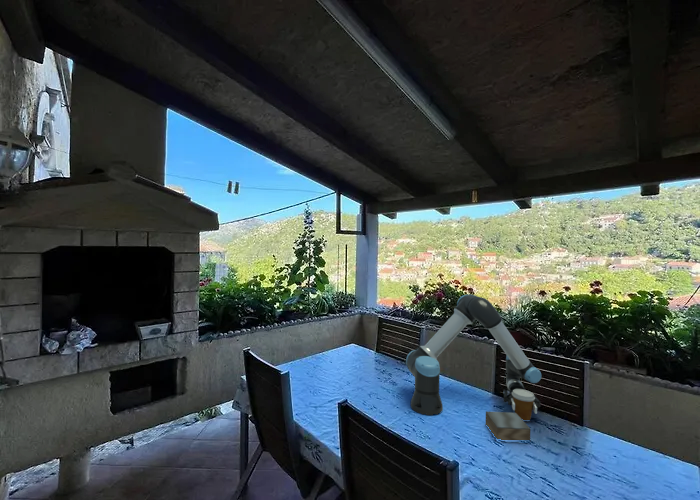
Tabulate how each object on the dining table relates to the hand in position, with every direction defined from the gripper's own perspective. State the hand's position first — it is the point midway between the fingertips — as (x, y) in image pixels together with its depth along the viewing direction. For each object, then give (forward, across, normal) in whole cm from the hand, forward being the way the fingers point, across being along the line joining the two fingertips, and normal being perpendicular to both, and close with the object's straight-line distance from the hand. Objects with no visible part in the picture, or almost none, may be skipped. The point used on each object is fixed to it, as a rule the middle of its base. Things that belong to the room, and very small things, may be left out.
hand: (524, 408), depth 147 cm
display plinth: (+12, +9, -7) cm, 16 cm away
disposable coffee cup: (-5, 0, -7) cm, 8 cm away
